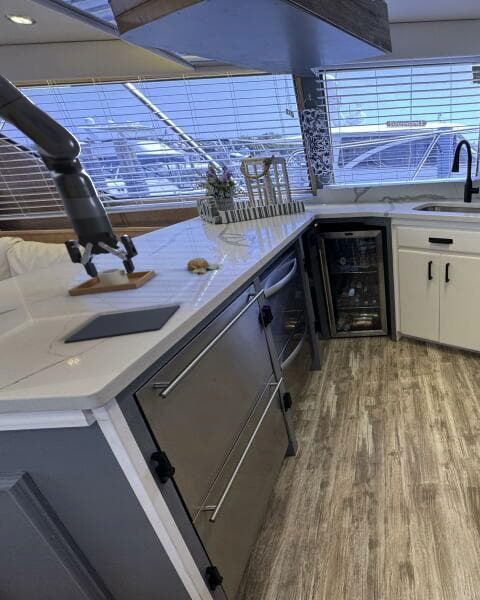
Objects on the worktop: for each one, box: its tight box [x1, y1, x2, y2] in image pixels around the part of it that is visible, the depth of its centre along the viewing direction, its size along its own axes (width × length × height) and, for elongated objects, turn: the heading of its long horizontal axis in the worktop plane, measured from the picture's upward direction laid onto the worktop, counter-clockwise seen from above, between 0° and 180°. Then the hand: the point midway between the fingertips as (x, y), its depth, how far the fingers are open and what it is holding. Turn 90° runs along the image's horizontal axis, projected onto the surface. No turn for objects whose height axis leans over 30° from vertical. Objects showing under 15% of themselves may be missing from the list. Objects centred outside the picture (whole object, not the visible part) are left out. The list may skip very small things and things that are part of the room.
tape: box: [97, 267, 129, 286], centre depth 90 cm, size 6×6×4 cm
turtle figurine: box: [187, 257, 221, 275], centre depth 101 cm, size 8×8×4 cm
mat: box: [63, 304, 181, 344], centre depth 68 cm, size 16×12×1 cm
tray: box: [67, 269, 156, 297], centre depth 90 cm, size 15×12×2 cm
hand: (113, 274), depth 89 cm, fingers open, 8 cm apart
